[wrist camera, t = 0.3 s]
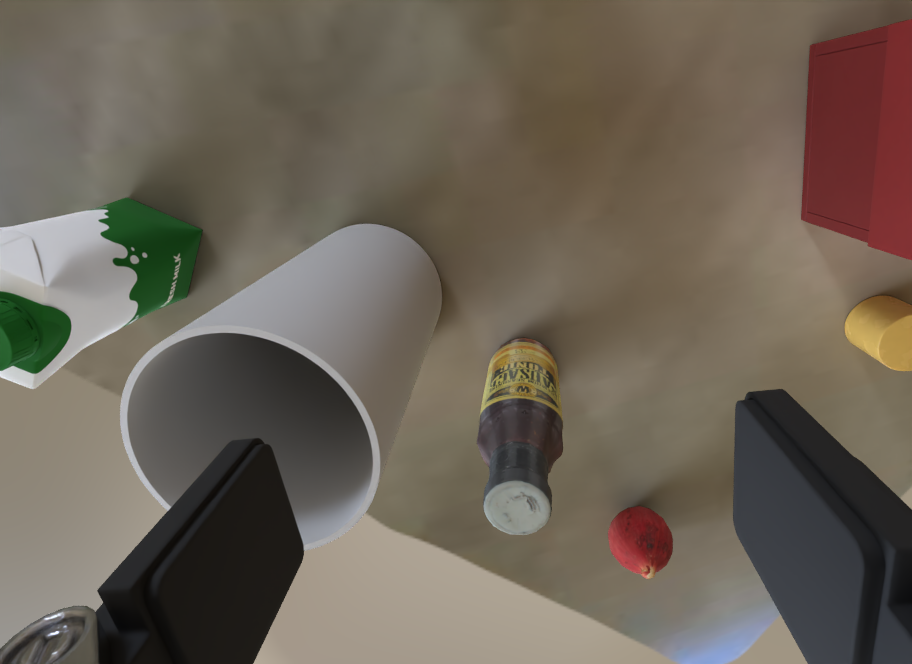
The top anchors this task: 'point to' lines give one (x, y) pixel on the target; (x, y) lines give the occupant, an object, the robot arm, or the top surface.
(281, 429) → the cylinder vase
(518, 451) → the sauce bottle
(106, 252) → the milk carton
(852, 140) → the red bin
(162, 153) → the top surface
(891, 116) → the lid
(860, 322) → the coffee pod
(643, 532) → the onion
